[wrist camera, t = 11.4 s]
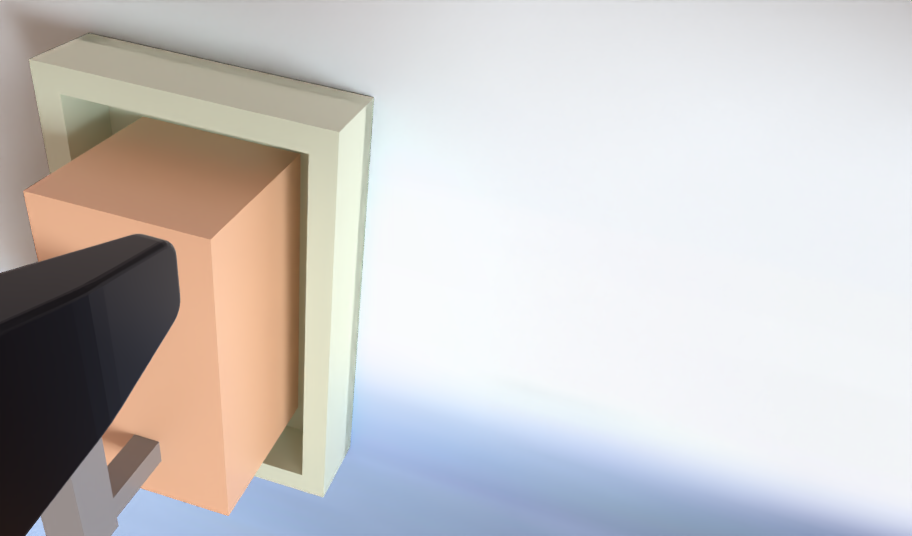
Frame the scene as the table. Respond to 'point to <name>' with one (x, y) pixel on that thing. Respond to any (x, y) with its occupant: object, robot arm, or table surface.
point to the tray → (321, 198)
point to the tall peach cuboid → (187, 312)
